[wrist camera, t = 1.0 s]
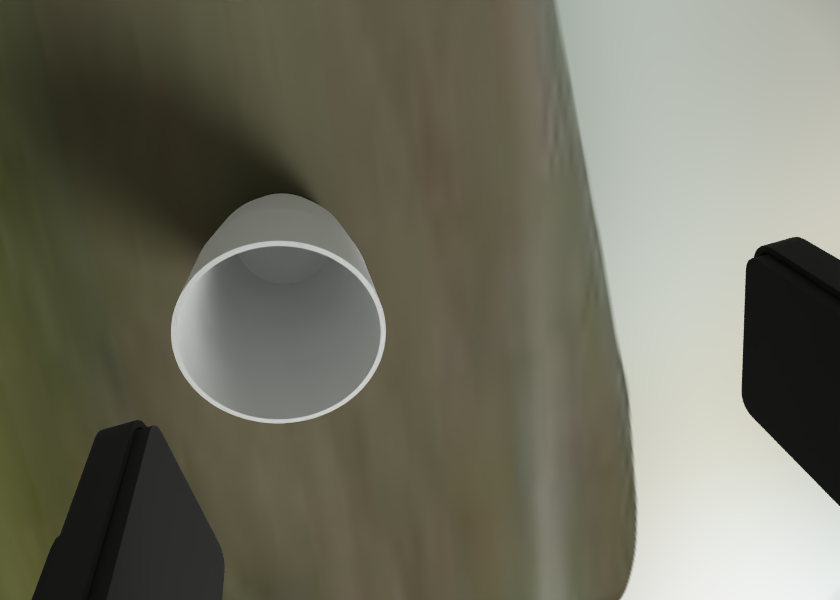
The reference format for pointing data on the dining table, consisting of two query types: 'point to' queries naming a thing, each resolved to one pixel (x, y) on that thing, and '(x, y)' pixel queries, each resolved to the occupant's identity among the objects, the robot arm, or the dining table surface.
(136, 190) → the dining table surface
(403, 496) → the dining table surface
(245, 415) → the cup
